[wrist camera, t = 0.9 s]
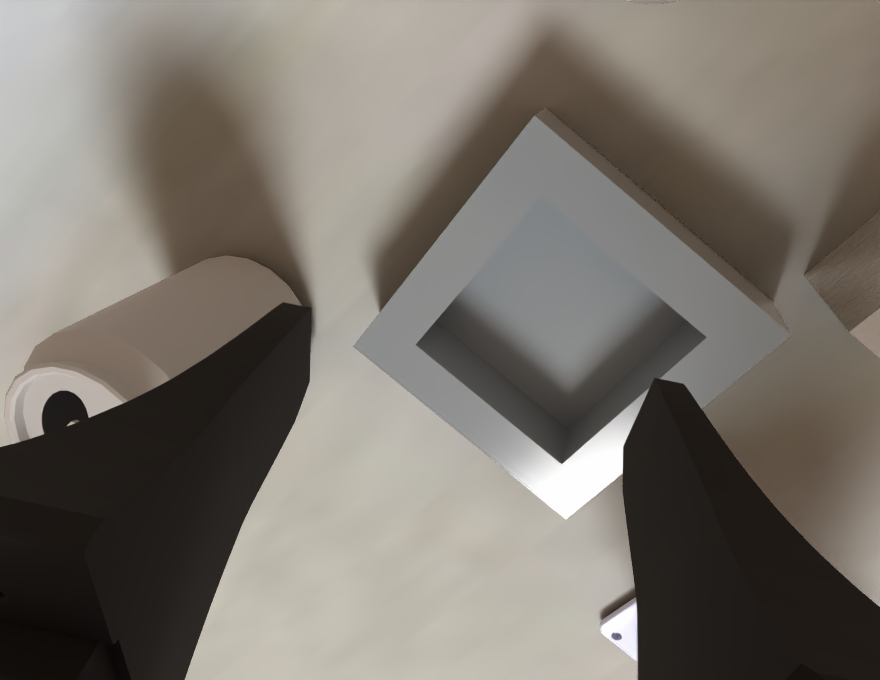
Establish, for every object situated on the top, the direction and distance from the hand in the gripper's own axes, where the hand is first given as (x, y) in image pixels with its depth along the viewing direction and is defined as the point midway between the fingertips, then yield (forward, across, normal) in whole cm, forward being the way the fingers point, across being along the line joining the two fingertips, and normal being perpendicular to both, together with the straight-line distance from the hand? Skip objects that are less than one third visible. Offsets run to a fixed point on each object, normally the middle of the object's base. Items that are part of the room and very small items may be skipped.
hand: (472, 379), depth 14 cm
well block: (+14, -4, +7) cm, 16 cm away
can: (+15, +11, +12) cm, 22 cm away
